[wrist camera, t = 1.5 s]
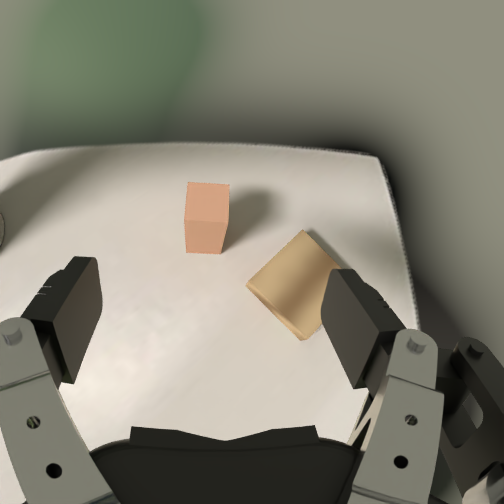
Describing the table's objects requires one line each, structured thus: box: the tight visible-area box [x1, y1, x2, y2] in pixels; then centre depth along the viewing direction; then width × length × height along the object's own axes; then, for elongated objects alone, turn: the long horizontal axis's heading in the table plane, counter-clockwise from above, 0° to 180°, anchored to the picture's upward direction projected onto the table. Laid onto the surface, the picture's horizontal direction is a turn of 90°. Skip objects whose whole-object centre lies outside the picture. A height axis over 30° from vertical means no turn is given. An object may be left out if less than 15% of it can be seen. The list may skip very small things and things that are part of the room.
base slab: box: [246, 229, 342, 341], centre depth 36 cm, size 9×9×3 cm
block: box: [184, 182, 229, 254], centre depth 33 cm, size 4×4×9 cm
